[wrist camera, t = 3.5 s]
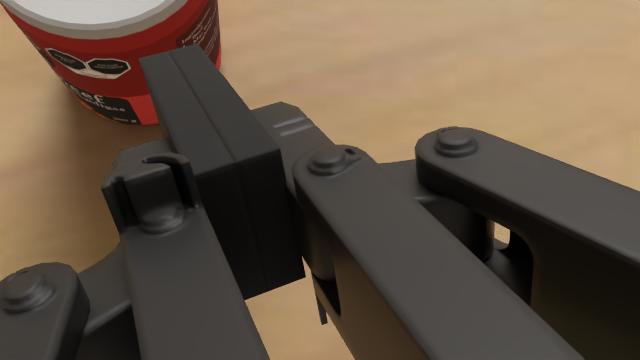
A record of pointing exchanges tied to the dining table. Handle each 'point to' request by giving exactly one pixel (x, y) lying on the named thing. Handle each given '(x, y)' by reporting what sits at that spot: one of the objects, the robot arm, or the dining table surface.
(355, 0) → the dining table surface
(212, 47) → the canned food
